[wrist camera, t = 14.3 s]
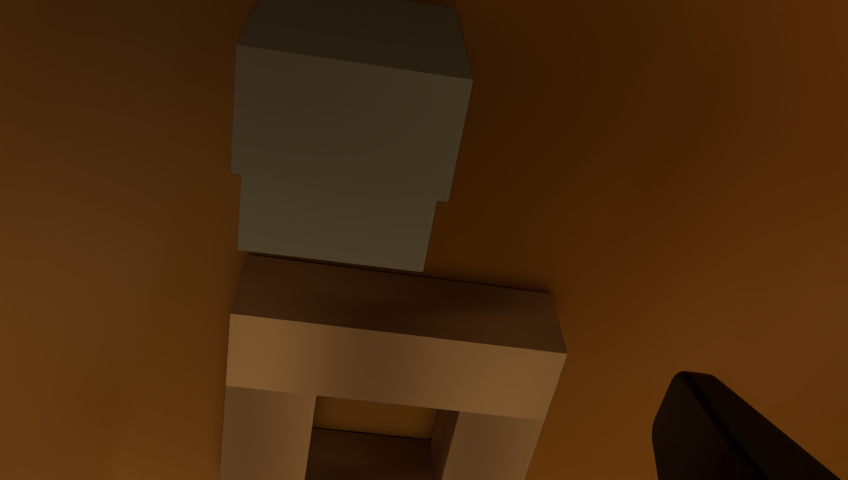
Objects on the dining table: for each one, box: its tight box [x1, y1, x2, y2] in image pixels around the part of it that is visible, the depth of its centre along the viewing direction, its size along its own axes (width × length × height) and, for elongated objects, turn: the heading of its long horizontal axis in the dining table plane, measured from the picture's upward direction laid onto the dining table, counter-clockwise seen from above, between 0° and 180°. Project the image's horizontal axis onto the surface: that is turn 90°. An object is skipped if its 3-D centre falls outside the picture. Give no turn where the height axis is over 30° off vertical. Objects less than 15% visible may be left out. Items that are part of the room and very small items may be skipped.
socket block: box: [220, 255, 567, 480], centre depth 22 cm, size 8×8×2 cm
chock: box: [230, 0, 473, 272], centre depth 17 cm, size 5×4×4 cm
